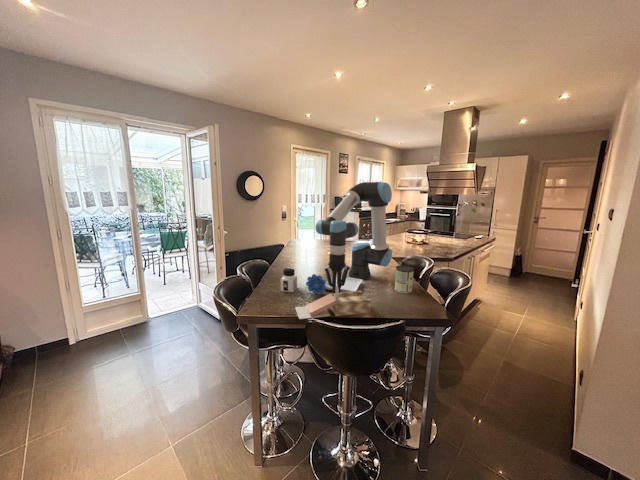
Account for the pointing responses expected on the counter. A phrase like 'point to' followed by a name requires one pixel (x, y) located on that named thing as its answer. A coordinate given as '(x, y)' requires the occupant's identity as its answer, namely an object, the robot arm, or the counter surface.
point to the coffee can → (404, 279)
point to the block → (321, 304)
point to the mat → (305, 314)
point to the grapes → (316, 284)
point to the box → (351, 303)
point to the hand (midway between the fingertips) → (336, 299)
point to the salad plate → (346, 284)
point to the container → (288, 280)
